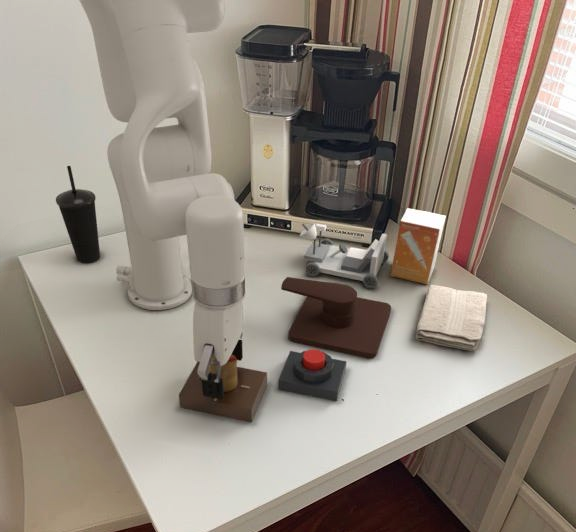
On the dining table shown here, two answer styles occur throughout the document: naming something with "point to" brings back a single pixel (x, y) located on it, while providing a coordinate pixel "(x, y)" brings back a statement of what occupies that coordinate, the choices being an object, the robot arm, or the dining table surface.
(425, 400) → the dining table surface
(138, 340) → the dining table surface
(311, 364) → the power button
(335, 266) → the toy car
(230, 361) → the dimmer knob
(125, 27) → the robot arm
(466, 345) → the washcloth
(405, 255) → the small box
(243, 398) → the dimmer panel
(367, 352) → the lever handle
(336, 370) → the switch block
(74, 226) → the drinking cup
